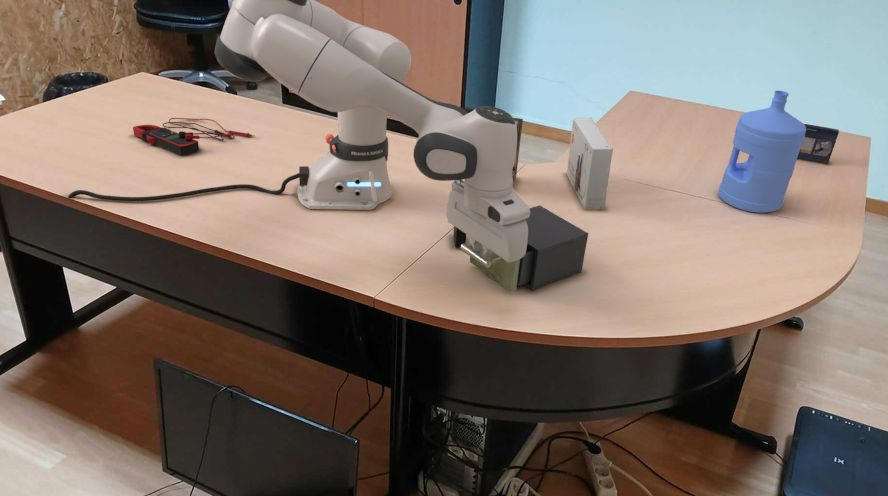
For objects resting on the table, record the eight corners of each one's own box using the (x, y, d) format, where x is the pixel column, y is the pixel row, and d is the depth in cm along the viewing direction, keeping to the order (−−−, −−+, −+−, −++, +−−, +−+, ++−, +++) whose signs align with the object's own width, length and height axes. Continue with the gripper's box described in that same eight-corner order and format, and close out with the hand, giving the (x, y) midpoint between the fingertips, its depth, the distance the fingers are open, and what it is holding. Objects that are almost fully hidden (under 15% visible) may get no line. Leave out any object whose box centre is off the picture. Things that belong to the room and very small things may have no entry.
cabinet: (532, 290, 144) (538, 250, 139) (486, 258, 154) (490, 219, 149) (581, 272, 152) (588, 233, 147) (534, 242, 161) (539, 205, 156)
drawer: (491, 299, 139) (495, 266, 135) (450, 268, 148) (452, 236, 144) (558, 275, 148) (563, 243, 144) (515, 247, 157) (519, 216, 153)
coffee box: (512, 192, 183) (519, 130, 174) (486, 188, 184) (492, 127, 175) (516, 178, 190) (523, 118, 182) (492, 174, 191) (498, 115, 183)
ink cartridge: (465, 248, 157) (468, 215, 153) (455, 248, 157) (457, 214, 153) (463, 237, 161) (466, 204, 157) (453, 237, 161) (455, 204, 157)
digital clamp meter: (183, 145, 184) (123, 120, 196) (185, 162, 186) (126, 136, 198) (255, 122, 200) (196, 100, 212) (256, 138, 203) (198, 115, 214)
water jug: (780, 194, 192) (814, 89, 177) (782, 219, 179) (819, 107, 164) (718, 183, 196) (747, 79, 181) (716, 206, 183) (747, 96, 168)
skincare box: (563, 174, 194) (572, 116, 186) (584, 174, 195) (593, 117, 186) (582, 210, 177) (593, 147, 168) (604, 210, 177) (616, 148, 169)
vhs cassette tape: (761, 152, 217) (771, 120, 212) (761, 149, 219) (771, 117, 214) (827, 165, 212) (839, 132, 206) (827, 161, 214) (839, 129, 209)
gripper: (440, 178, 140) (436, 242, 147) (510, 221, 127) (502, 289, 134) (466, 172, 143) (461, 234, 151) (536, 213, 130) (528, 279, 137)
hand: (481, 260), depth 142 cm, fingers closed
